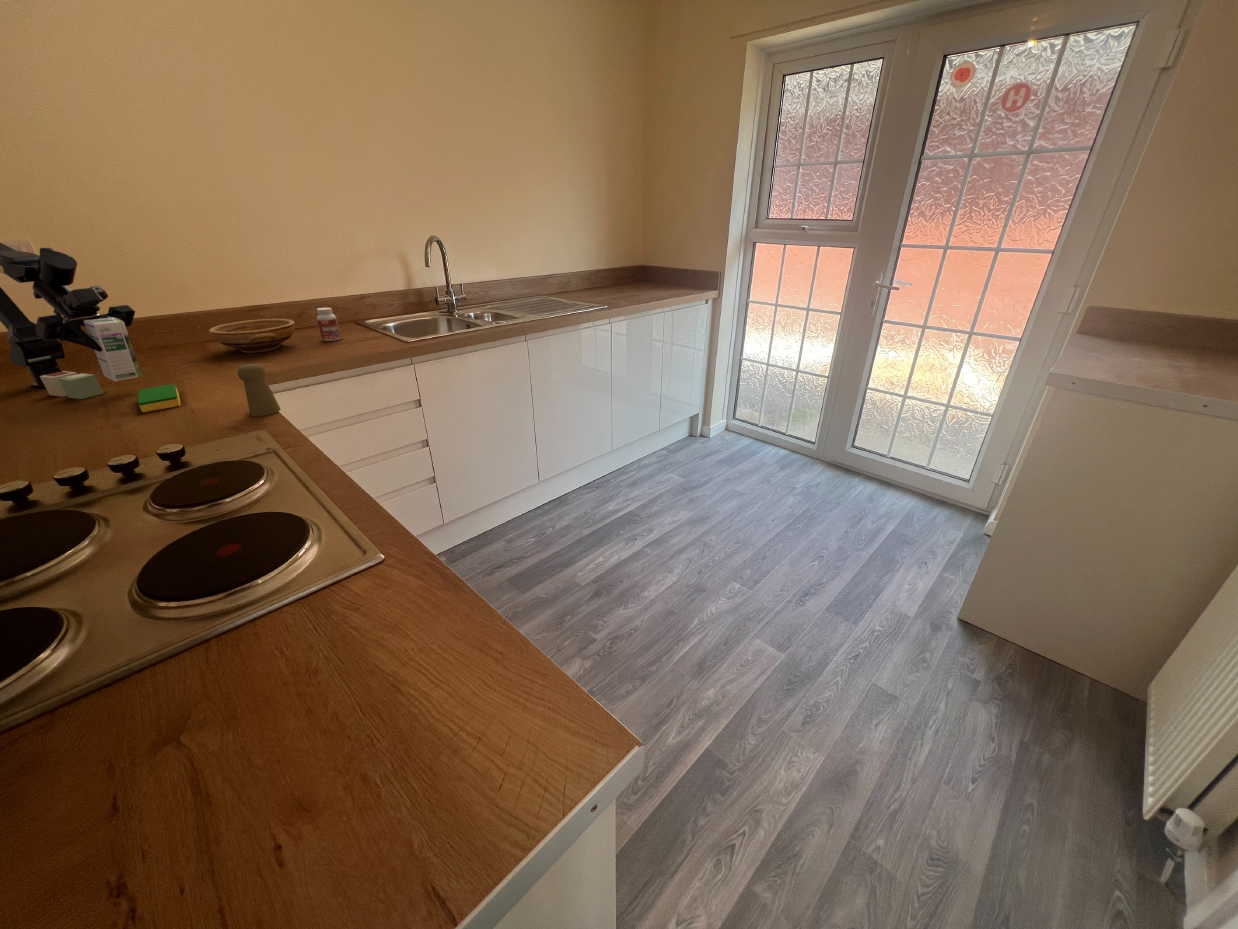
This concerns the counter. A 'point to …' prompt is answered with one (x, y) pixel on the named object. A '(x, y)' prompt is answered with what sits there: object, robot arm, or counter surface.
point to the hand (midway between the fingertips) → (116, 347)
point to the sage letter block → (81, 386)
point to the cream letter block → (55, 382)
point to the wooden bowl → (254, 334)
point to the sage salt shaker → (258, 390)
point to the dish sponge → (158, 398)
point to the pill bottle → (328, 325)
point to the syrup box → (114, 348)
